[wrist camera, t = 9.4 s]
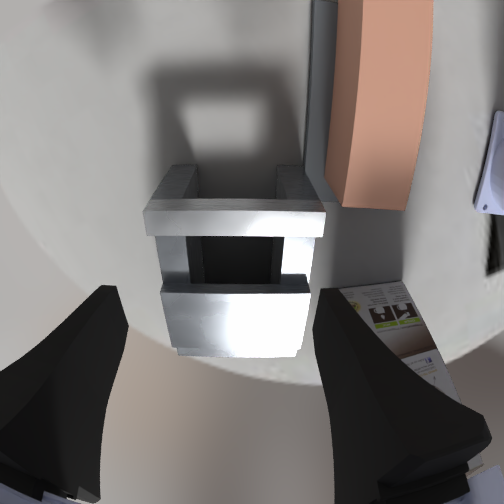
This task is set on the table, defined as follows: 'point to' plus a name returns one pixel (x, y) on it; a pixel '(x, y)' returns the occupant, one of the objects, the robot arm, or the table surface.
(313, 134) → the pad
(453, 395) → the coffee box
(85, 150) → the table surface
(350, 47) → the salmon rectangular block
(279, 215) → the dispenser
